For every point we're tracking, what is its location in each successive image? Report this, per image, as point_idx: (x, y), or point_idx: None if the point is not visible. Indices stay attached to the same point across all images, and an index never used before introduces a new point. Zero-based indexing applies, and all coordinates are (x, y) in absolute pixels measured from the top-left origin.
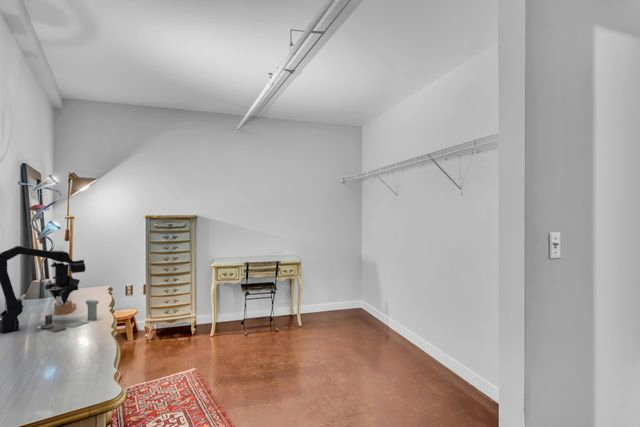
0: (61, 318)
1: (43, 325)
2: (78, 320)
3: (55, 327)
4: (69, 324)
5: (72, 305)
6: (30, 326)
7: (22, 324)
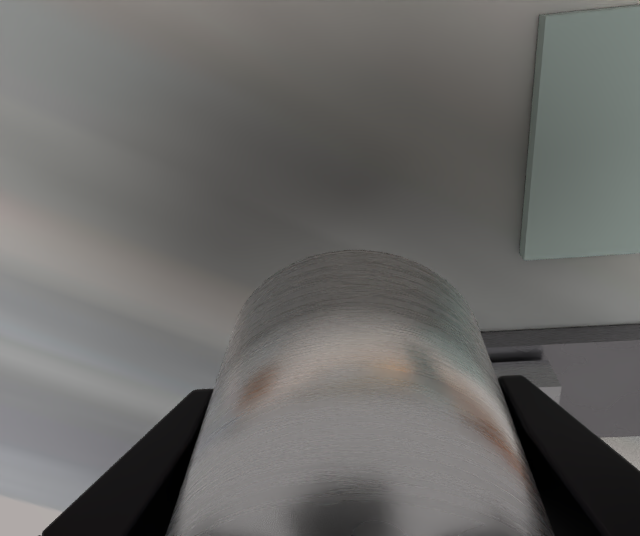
0: (76, 57)
1: None
2: (562, 20)
3: (585, 372)
4: (616, 212)
5: None
6: (172, 405)
7: (7, 405)
